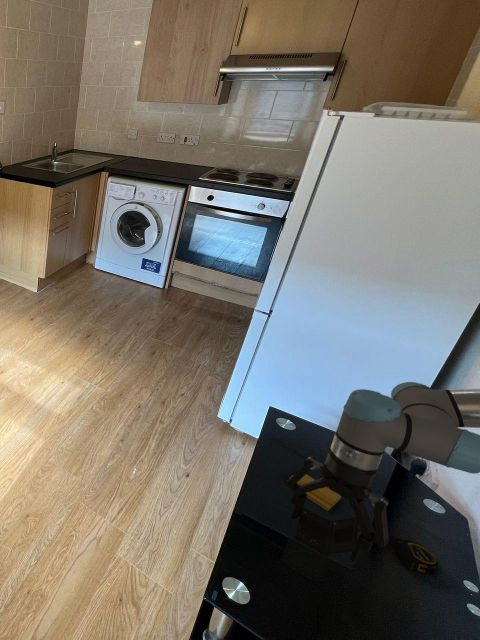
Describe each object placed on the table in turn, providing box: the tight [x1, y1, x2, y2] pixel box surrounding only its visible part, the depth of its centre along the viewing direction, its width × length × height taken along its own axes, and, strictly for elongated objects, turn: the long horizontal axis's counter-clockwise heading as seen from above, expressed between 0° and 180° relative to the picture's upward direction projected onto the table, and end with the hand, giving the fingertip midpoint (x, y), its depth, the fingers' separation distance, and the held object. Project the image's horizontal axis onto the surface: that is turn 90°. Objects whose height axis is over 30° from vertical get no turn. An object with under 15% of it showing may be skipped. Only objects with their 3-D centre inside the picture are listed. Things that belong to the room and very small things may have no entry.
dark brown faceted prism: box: [294, 506, 359, 558], centre depth 92 cm, size 12×7×10 cm
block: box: [289, 474, 343, 512], centre depth 116 cm, size 10×8×2 cm
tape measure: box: [390, 538, 439, 575], centre depth 97 cm, size 7×7×4 cm
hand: (323, 536), depth 92 cm, fingers closed on dark brown faceted prism, 10 cm apart
